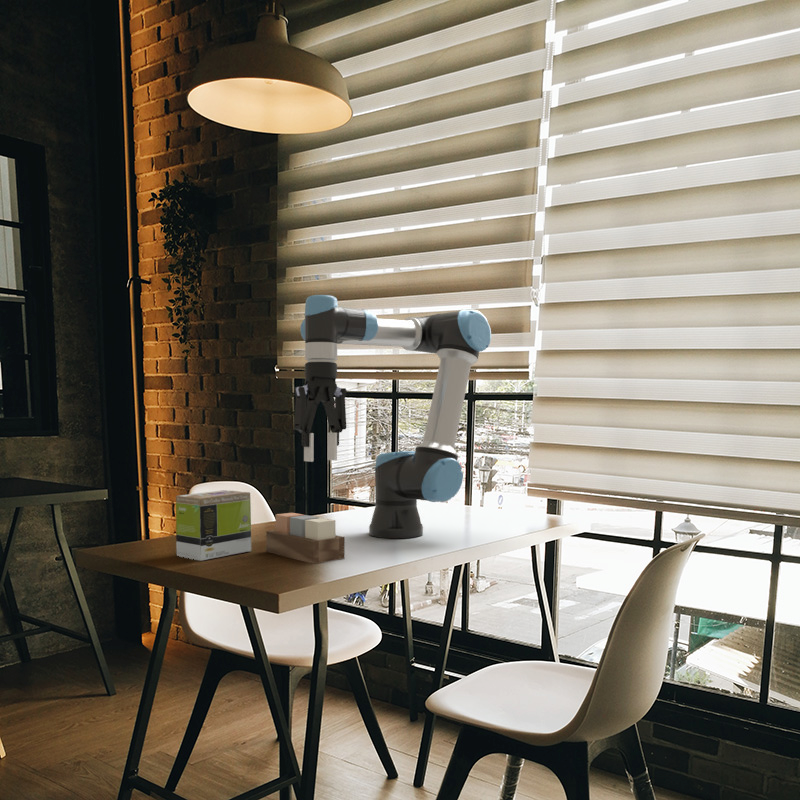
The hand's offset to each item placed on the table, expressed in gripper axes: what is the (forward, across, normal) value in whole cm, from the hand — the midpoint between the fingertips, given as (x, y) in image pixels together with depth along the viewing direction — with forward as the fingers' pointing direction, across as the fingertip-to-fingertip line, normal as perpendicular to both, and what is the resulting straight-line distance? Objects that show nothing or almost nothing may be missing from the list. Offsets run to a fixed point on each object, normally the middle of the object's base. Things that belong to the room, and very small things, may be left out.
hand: (320, 460), depth 169 cm
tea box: (+23, +16, -22) cm, 35 cm away
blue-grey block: (+20, 0, -6) cm, 20 cm away
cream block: (+19, 0, 0) cm, 19 cm away
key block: (+23, 0, -6) cm, 24 cm away
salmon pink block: (+19, 0, -13) cm, 23 cm away
